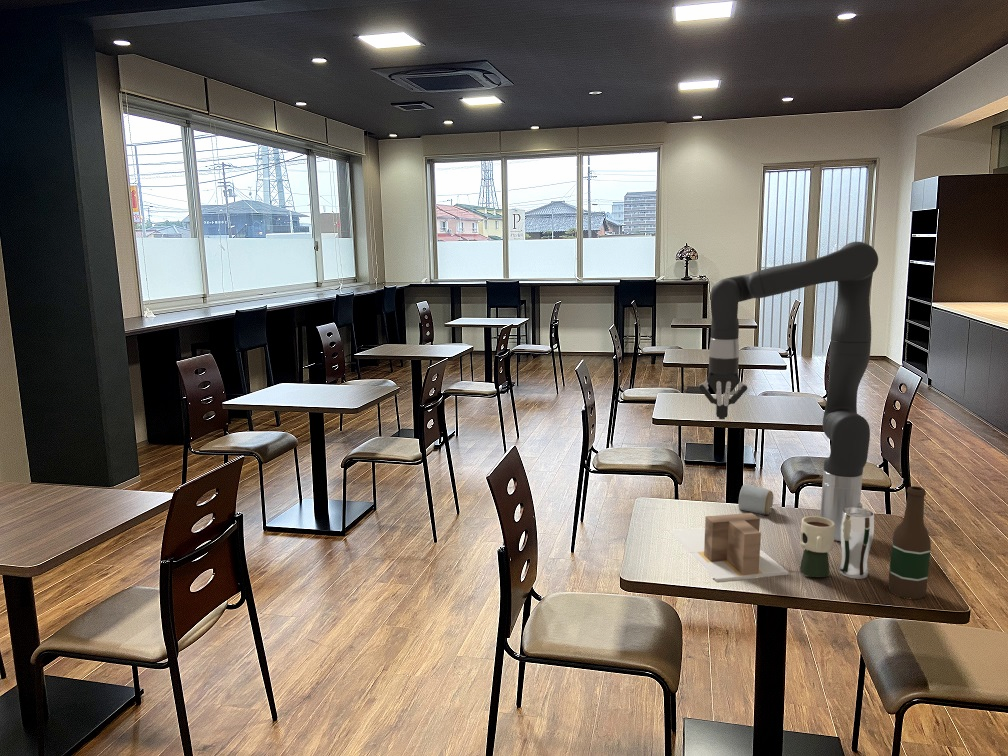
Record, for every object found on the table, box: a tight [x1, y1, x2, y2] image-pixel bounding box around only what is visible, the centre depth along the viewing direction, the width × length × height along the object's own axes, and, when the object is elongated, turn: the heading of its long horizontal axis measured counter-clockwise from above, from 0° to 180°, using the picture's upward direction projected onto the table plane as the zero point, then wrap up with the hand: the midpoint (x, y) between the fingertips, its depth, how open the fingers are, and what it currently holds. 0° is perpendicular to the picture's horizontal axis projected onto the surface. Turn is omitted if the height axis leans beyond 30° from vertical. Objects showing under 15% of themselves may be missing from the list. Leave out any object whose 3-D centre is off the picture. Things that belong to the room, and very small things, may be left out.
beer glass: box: [838, 507, 875, 580], centre depth 176 cm, size 7×7×15 cm
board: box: [667, 526, 789, 582], centre depth 190 cm, size 29×18×1 cm, turn 10°
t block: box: [704, 512, 762, 575], centre depth 181 cm, size 12×12×10 cm
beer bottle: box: [888, 485, 932, 600], centre depth 166 cm, size 8×8×24 cm
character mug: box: [799, 515, 835, 578], centre depth 176 cm, size 11×7×13 cm, turn 162°
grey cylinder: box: [737, 483, 774, 516], centre depth 217 cm, size 11×8×8 cm
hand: (721, 418), depth 205 cm, fingers closed
